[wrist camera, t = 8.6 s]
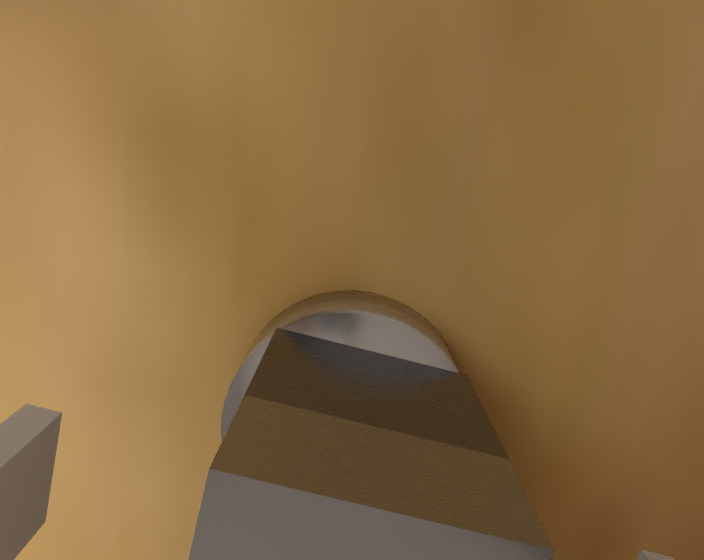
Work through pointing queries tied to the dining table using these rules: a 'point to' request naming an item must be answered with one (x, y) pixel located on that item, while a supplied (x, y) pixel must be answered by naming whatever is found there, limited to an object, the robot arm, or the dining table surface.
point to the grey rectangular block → (362, 465)
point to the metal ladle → (347, 334)
